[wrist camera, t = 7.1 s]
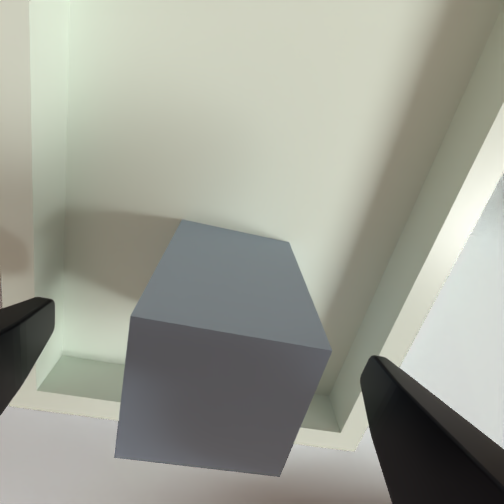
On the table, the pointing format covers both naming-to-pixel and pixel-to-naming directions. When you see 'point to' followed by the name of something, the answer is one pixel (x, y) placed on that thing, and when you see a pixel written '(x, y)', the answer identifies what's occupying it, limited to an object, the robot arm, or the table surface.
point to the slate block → (220, 355)
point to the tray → (243, 167)
